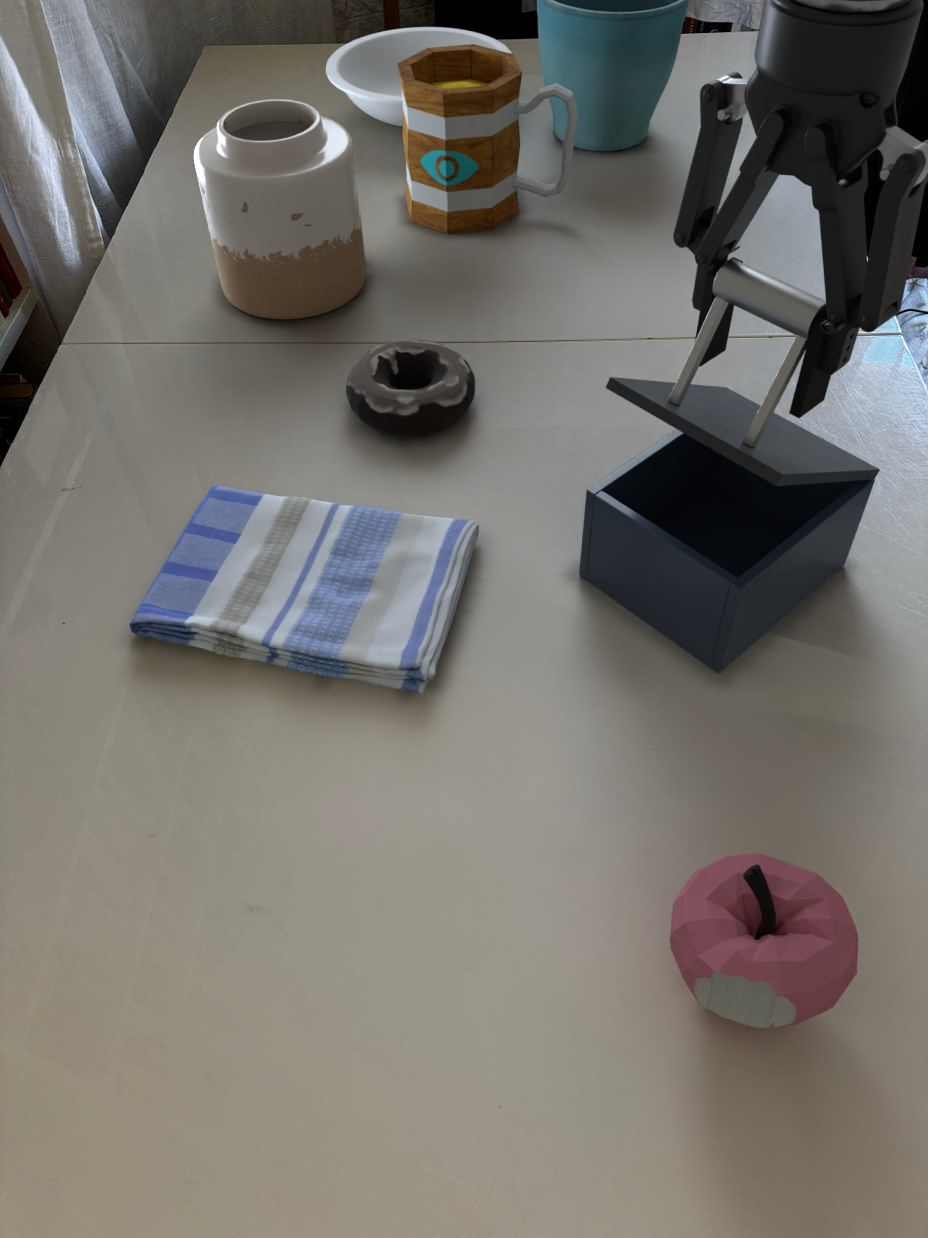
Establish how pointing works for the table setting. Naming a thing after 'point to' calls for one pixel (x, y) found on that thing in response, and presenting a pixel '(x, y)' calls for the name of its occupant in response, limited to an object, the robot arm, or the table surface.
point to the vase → (282, 209)
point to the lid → (732, 417)
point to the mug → (469, 137)
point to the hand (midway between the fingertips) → (756, 380)
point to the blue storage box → (713, 544)
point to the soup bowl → (390, 65)
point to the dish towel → (313, 586)
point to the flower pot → (608, 64)
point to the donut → (417, 407)
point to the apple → (763, 941)
